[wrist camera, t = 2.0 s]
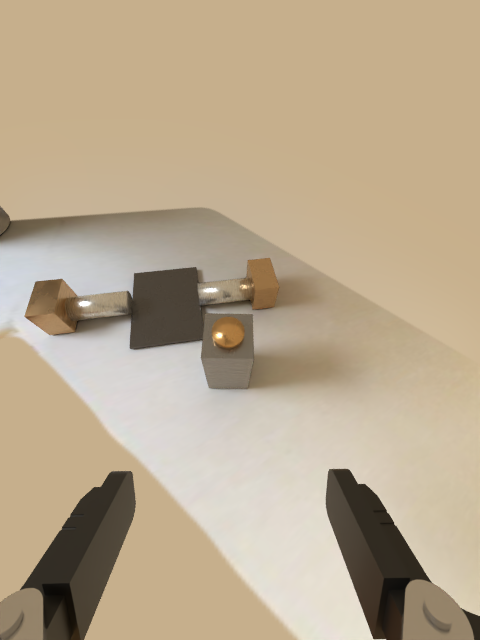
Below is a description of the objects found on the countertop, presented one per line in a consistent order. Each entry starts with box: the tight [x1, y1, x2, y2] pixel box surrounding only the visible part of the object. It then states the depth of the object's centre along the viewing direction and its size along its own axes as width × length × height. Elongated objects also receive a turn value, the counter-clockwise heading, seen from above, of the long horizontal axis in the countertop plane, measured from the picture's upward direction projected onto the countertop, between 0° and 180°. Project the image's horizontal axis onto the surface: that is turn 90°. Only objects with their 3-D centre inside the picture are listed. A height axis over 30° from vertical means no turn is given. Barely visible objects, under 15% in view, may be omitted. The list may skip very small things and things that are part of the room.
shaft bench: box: [24, 258, 279, 349], centre depth 32 cm, size 29×12×4 cm, turn 100°
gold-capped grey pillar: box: [201, 313, 254, 389], centre depth 25 cm, size 4×4×10 cm
